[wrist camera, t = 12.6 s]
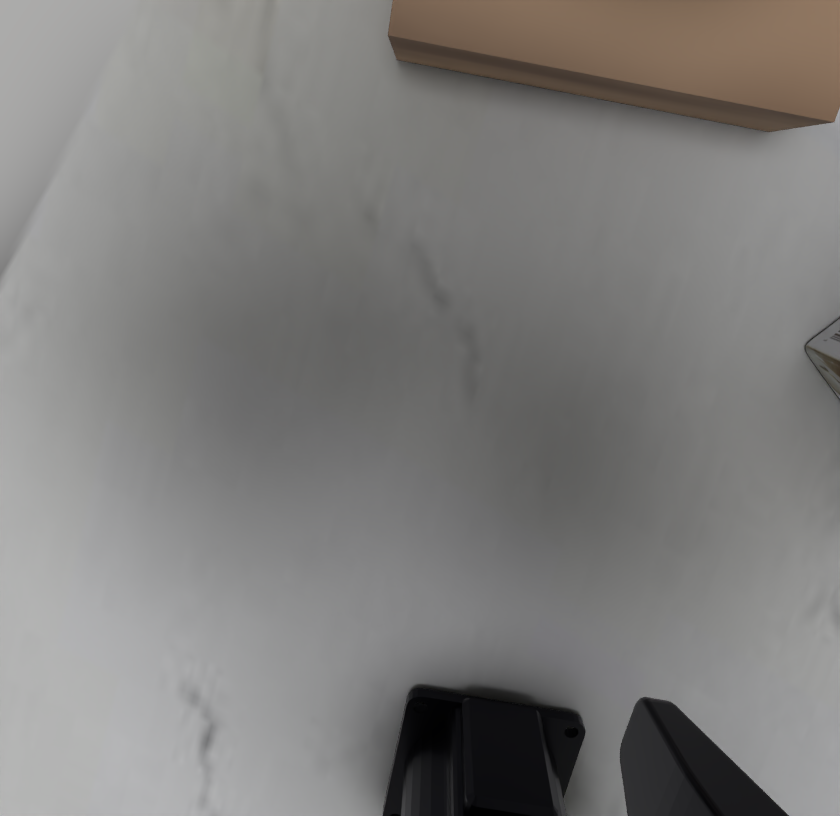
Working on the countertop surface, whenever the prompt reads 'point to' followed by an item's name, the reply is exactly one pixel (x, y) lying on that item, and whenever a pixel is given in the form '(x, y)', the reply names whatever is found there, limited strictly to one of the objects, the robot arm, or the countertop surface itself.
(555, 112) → the countertop surface
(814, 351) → the coffee box
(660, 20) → the walnut base
